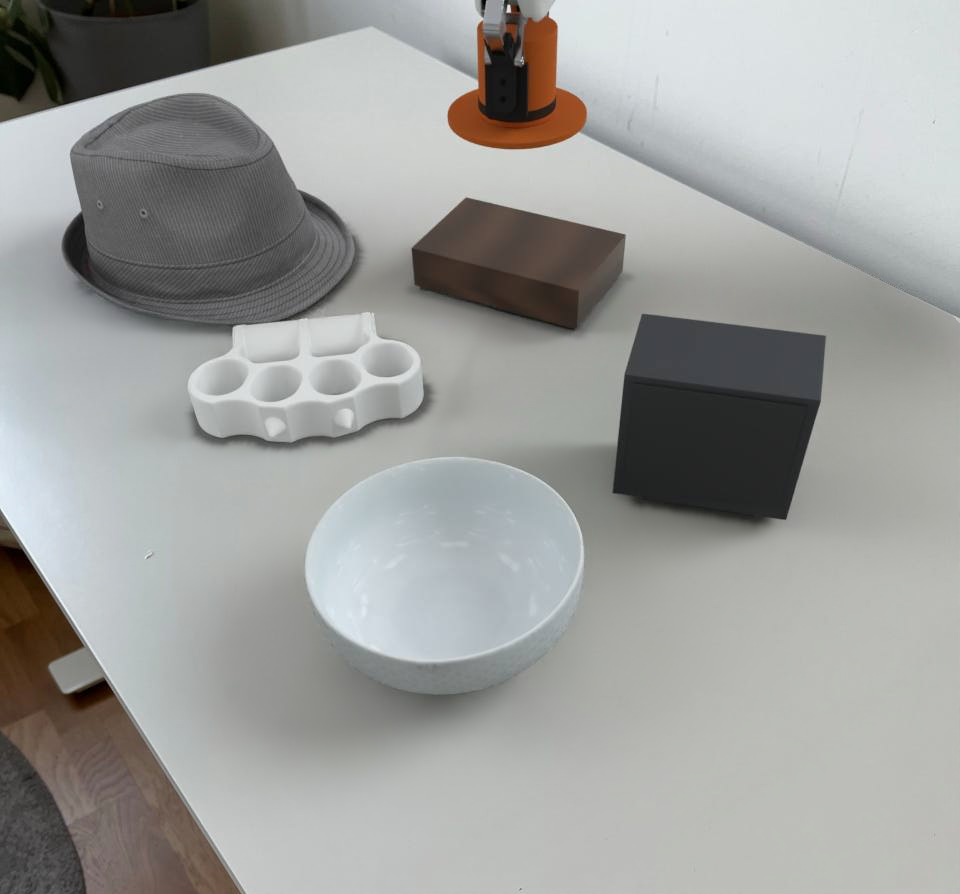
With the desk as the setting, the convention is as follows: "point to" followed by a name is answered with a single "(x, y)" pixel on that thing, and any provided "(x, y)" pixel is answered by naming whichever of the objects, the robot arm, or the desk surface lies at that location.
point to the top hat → (548, 106)
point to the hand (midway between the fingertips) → (517, 98)
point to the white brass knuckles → (306, 380)
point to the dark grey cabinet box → (717, 414)
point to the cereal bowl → (445, 573)
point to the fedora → (198, 217)
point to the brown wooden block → (519, 262)
